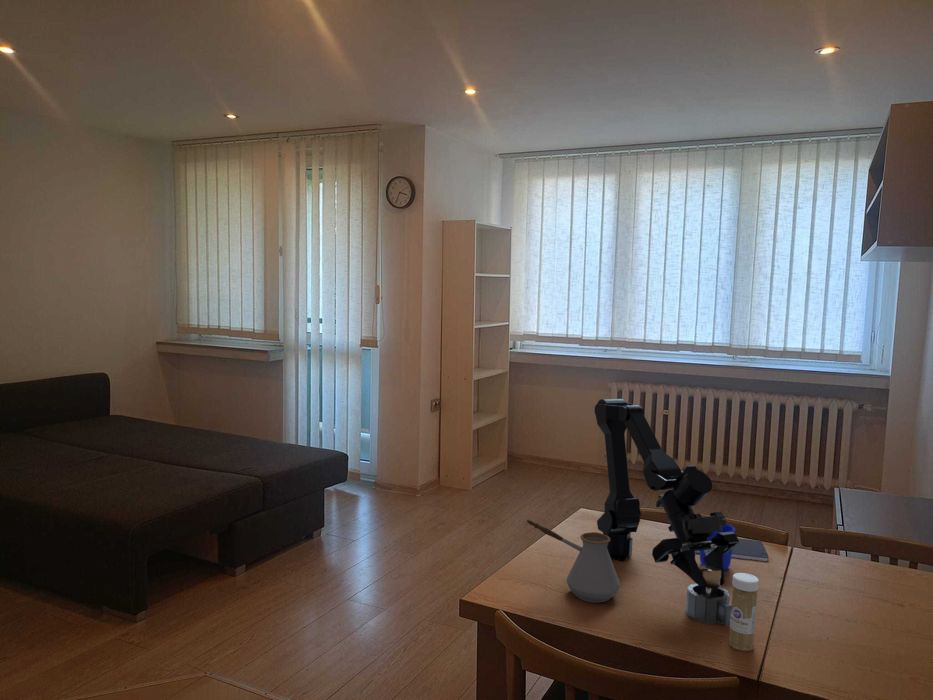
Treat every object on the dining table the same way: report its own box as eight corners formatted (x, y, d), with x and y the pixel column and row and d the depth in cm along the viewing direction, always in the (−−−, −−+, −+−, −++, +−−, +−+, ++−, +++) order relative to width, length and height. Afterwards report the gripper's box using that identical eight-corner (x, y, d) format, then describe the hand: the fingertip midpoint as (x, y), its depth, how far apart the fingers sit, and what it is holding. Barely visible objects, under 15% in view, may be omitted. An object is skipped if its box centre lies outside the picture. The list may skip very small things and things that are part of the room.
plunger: (691, 605, 144) (693, 566, 143) (708, 602, 146) (711, 564, 145) (705, 614, 140) (708, 574, 139) (723, 611, 141) (725, 572, 141)
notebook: (761, 546, 186) (678, 536, 191) (761, 540, 186) (678, 531, 191) (769, 563, 173) (680, 553, 179) (769, 557, 173) (680, 547, 179)
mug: (723, 555, 176) (725, 517, 176) (736, 574, 165) (739, 533, 164) (690, 553, 177) (692, 515, 176) (701, 572, 165) (703, 531, 164)
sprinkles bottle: (724, 646, 130) (729, 576, 129) (733, 637, 133) (737, 569, 132) (749, 655, 127) (754, 583, 126) (757, 646, 131) (762, 576, 129)
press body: (678, 608, 145) (679, 585, 145) (709, 603, 148) (710, 581, 148) (711, 631, 136) (713, 606, 135) (743, 625, 139) (745, 601, 138)
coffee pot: (620, 588, 155) (624, 522, 154) (618, 610, 144) (621, 539, 142) (526, 575, 160) (529, 511, 159) (517, 595, 149) (519, 527, 148)
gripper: (663, 501, 141) (696, 575, 132) (736, 494, 148) (772, 564, 139) (638, 526, 149) (668, 597, 140) (709, 519, 156) (741, 586, 147)
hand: (713, 586), depth 141 cm, fingers closed on plunger, 4 cm apart
